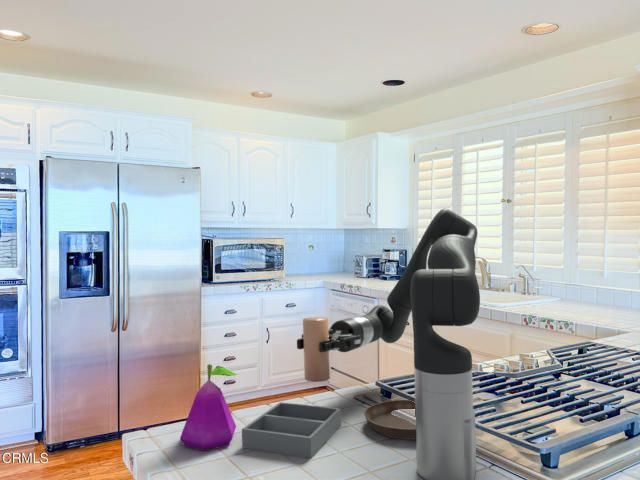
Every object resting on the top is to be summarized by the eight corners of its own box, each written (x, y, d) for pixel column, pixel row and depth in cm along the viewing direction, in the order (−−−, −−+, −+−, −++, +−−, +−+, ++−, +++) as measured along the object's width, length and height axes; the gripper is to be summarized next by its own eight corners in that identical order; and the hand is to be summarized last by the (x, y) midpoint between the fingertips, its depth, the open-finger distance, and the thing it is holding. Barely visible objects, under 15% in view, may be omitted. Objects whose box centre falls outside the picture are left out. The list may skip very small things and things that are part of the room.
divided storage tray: (341, 425, 104) (340, 408, 104) (311, 457, 89) (310, 438, 89) (280, 418, 109) (279, 402, 109) (242, 447, 94) (241, 429, 94)
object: (362, 412, 112) (362, 399, 112) (442, 411, 111) (442, 397, 111) (366, 445, 94) (366, 429, 94) (462, 444, 94) (461, 428, 94)
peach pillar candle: (333, 375, 112) (331, 317, 112) (324, 382, 107) (322, 321, 107) (310, 374, 114) (308, 316, 115) (300, 380, 109) (298, 320, 109)
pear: (224, 454, 92) (222, 372, 91) (169, 451, 94) (166, 371, 94) (245, 431, 103) (243, 357, 102) (195, 428, 105) (193, 356, 105)
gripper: (327, 316, 127) (283, 326, 113) (377, 320, 118) (336, 331, 105) (328, 345, 127) (284, 359, 113) (378, 352, 118) (337, 367, 104)
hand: (309, 346), depth 109 cm, fingers closed on peach pillar candle, 5 cm apart
